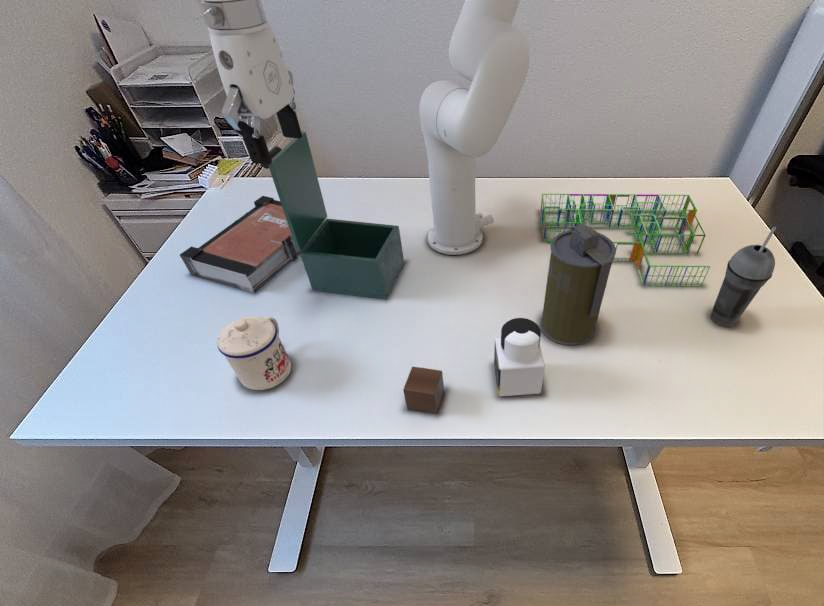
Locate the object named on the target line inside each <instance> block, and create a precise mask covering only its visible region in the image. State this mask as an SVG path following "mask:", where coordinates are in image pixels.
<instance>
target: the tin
mask: <svg viewBox="0 0 824 606" xmlns="http://www.w3.org/2000/svg"><path fill="white" fill-rule="evenodd" d="M299 256H300V259H301V261H302V264H303V267H304V270H305V272H306V275H307V278H308V281H309V283H310V286H311V289H312V291H314V292H315V291H316V292H324V293H330V294H339V295H347V296H356V297H364V298H372V299H380V300H387V298H388V296H389V295H390V292H391V290H392V288H393V286H394V285H395V282H396V280H397V278H398V276H399V274H400V273H401V270H402V268H403V266H404V264H405V258H404V252H403V244H402V238H401V232H400V226H399V225H393V224H383V223H373V222H364V221H354V220H347V219H346V220H345V219H337V218H336V219H334V218H326V219H325V220H324V222H323V224H322V225H321V226H320V228H319V229H318V230H317V231H316V233H315V234H314V235H313V237H312V238H311V239H310V240H309V242H308V243H307V244H306V246H305V247H304V248H303V250H302V251H301V252H300V253H299Z"/></svg>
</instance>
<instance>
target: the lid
mask: <svg viewBox="0 0 824 606" xmlns="http://www.w3.org/2000/svg"><path fill="white" fill-rule="evenodd" d="M301 133H302V137H301V138H300V139H298V138H292V140H290V142H289V143H287V144H286V145H285V146H284V147H283V148H281V147H280V146H278V145H276V146H273V147H272V148H271V149H270V150H269V153H270V156H271V159H272V163H271V164H270V165H267V164H260V166H261V167H262V168H263V169H265V170H268V169H269V172H270V175H271V178H272V182H273V184H274V187H275V190H276V192H277V195H278V199H279V201H280V202H281V205H282V208H283V211H284V214H285V217H286V220H287V223H288V226H289V229H290V232H291V235H292V238H293V241H294V244H295V247H296V250H297V251H301V250H302V249H303V248H304V246H305V245H306V244H307V242H308V241H309V240H310V239H311V237H312V236H313V235H314V233H315V232H316V231H317V229H318V228H319V227H320V226H321V224H322V223H323V222H324V221H325V220H326V219H328V213H327V209H326V205H325V202H324V198H323V193H322V190H321V186H320V181H319V178H318V175H317V170H316V167H315V163H314V159H313V154H312V151H311V147H310V143H309V140H308V139H309V138H308V135H307V131H301Z"/></svg>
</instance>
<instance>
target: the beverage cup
mask: <svg viewBox="0 0 824 606" xmlns="http://www.w3.org/2000/svg"><path fill="white" fill-rule="evenodd" d="M776 230H777V227H776V226H772V228H771V229H770V231H769V233H768V234H767V236H766V238H765V239H764V241H763V243H762V245H761V244H750V245H746V246H744V247H742V248H740V249H738V250H737V251H736V252H735V253H734V254H732V256H731V258H730V259H729V260H728V261H727V264H726V269H725V275H724V278H723V280H722V283H721V286H720V288H719V291H718V294H717V296H716V299H715V302H714V305H713V307H712V311H711V313H710V320H711V321H712V322H713V323H714V324H716V325H718V326H719V327H725V328H730V327H733V326H734V325H735V324H736V322H737V321H738V320H739V319H740V318H741V316H742V315H743V314H744V312H745V311H746V310H747V308H748V307H749V305H751V302H752V301H753V300H754V298H755V297H756V296H757V294H758V293H759V291H760V290H761V289H762V288H763V287H764V286H765V284H766V283H767V282H768V281H769V280H770V279H771V278H772V277H773V274H774V272H775V271H774V270H775V266H776V258H775V256H774V253H773V252H772V251H771V250H770V249H769V248H768V247H767V245H768V243H769V241H770V239H771V238H772V236H773V235H774V233H775V231H776Z"/></svg>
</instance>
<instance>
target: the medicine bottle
mask: <svg viewBox="0 0 824 606" xmlns="http://www.w3.org/2000/svg"><path fill="white" fill-rule="evenodd" d="M541 337H542V330H541V327H540V325H538V324H537V323H536V322H535V321H534V320H532V319H529V318H526V317H515V318H512V319H509V320H507V321H506V322H505V323H504V324H502V327H501V329H500V336H497V337H495V338H494V355H493V357H494V358H493V363H494V364H493V367H494V374H495V381H496V389H497V395H498V396H499V397H511V396H526V395H527V396H528V395H538V394H539V395H540V394H541V393H542V386H543V381H544V374H545V369H546V364H545V360H544V355H543V351H542V347H541Z"/></svg>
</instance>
